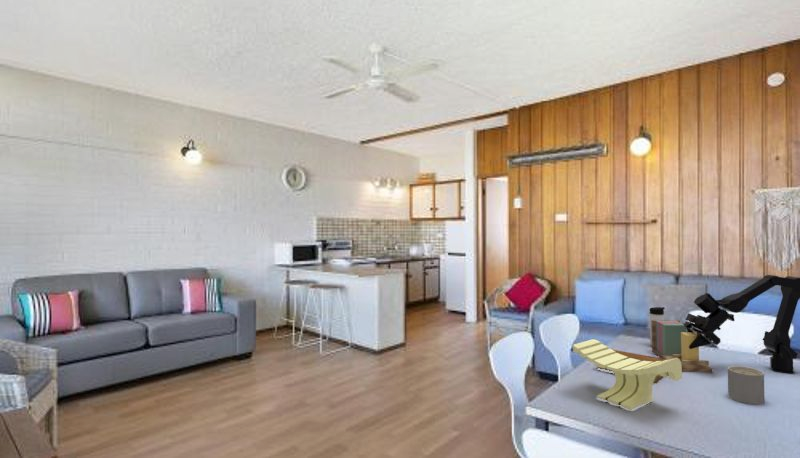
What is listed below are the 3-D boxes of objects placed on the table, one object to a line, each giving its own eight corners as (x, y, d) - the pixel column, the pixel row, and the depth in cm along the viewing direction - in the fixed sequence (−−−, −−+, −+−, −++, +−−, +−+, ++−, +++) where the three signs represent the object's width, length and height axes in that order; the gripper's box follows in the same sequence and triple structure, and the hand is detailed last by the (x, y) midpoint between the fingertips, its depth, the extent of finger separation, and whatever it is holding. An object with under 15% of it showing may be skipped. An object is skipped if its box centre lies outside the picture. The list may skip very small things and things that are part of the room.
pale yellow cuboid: (692, 360, 184) (692, 332, 184) (699, 363, 179) (698, 335, 179) (681, 359, 185) (680, 332, 185) (687, 363, 180) (686, 335, 180)
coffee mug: (759, 406, 143) (758, 377, 143) (723, 397, 151) (723, 369, 151) (771, 396, 151) (770, 368, 151) (737, 388, 159) (736, 361, 159)
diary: (669, 372, 179) (669, 359, 179) (656, 385, 166) (656, 370, 166) (612, 361, 195) (611, 348, 195) (595, 371, 182) (595, 357, 182)
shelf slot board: (679, 352, 204) (678, 320, 204) (712, 372, 176) (711, 335, 176) (652, 352, 206) (651, 320, 206) (680, 371, 178) (679, 334, 178)
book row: (677, 350, 202) (676, 320, 202) (687, 356, 193) (686, 325, 193) (656, 349, 204) (656, 320, 204) (665, 355, 195) (664, 325, 195)
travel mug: (664, 349, 210) (663, 308, 210) (649, 347, 214) (648, 307, 214) (666, 346, 215) (665, 306, 214) (651, 344, 219) (650, 305, 218)
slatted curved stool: (682, 408, 143) (681, 355, 143) (658, 421, 134) (657, 365, 134) (598, 382, 168) (597, 337, 168) (574, 392, 159) (572, 344, 159)
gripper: (687, 303, 190) (661, 327, 192) (711, 311, 172) (682, 338, 174) (707, 321, 189) (681, 345, 191) (733, 331, 171) (704, 358, 173)
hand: (686, 346), depth 182 cm, fingers closed on pale yellow cuboid, 5 cm apart
